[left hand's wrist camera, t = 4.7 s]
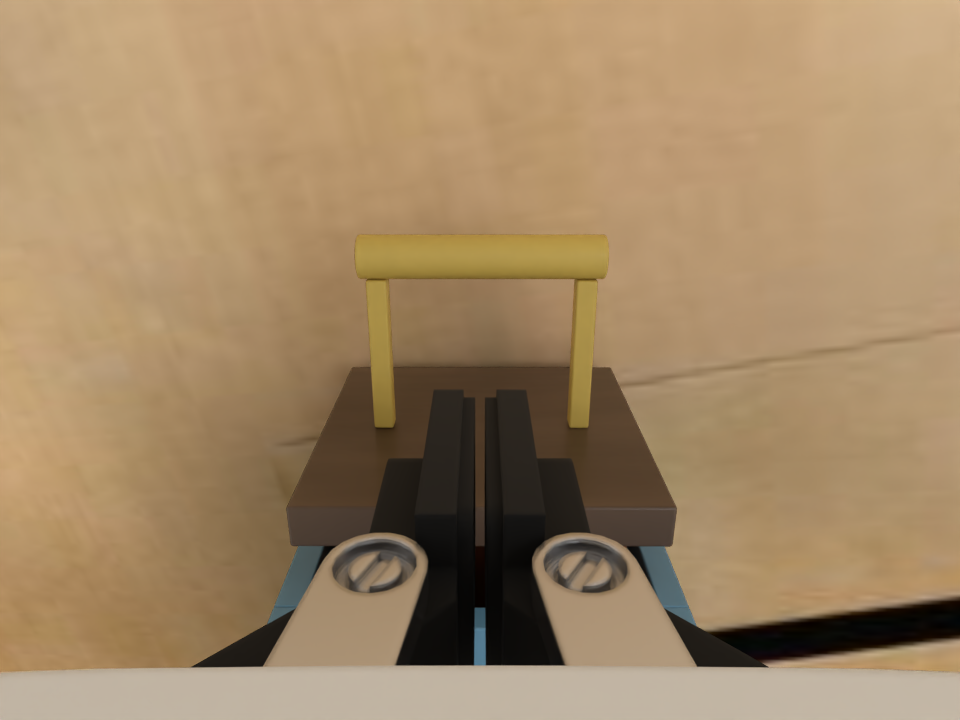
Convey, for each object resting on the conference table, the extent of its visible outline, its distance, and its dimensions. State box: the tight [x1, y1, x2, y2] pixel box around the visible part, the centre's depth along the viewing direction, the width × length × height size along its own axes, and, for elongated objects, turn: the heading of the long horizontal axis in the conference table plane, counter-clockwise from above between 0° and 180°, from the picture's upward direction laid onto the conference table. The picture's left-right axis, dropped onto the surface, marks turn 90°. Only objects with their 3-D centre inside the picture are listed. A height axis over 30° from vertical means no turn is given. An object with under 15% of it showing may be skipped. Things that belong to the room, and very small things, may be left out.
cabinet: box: [267, 546, 696, 666], centre depth 26 cm, size 18×11×11 cm, turn 0°
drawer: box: [286, 235, 677, 608], centre depth 23 cm, size 23×10×9 cm, turn 0°
